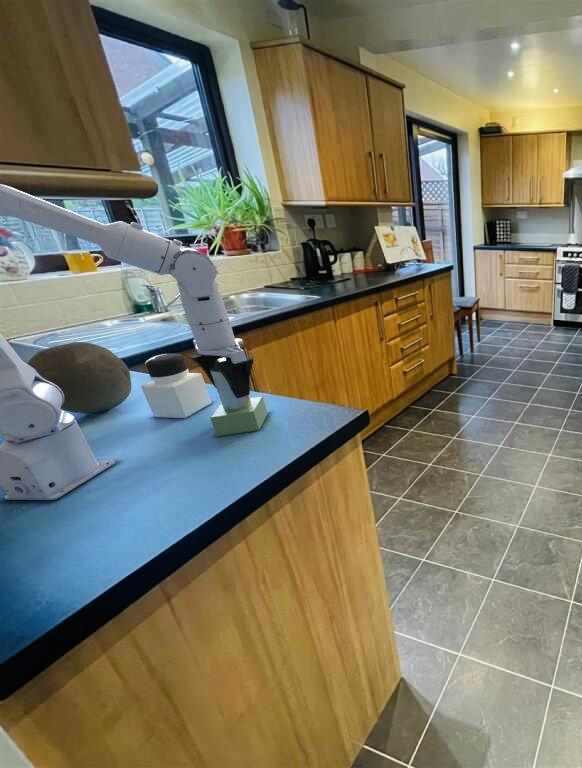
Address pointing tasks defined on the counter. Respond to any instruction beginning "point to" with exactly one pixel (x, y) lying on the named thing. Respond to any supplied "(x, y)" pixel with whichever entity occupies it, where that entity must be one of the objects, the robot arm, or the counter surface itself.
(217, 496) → the counter surface
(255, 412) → the block
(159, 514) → the counter surface
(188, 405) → the medicine bottle
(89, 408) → the cantaloupe
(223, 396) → the flask
